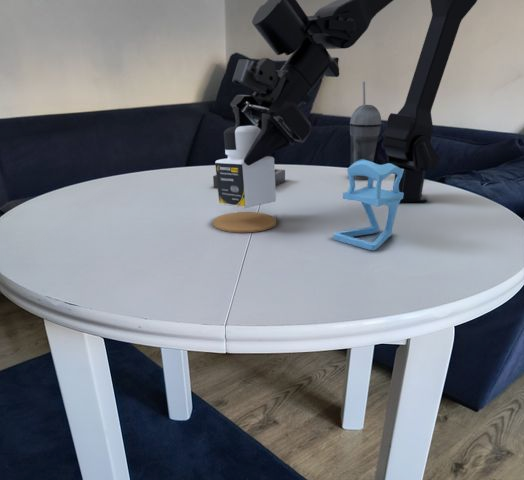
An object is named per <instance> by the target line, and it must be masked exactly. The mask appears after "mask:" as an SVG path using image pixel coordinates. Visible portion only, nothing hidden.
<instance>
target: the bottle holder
mask: <svg viewBox="0 0 524 480" xmlns="http://www.w3.org/2000/svg"><path fill="white" fill-rule="evenodd" d="M212 179H213V182H212V183H213V188H214V189H218V185H217V175H216V174H214V175H213V176H212ZM285 181H286V169H279V168H275V187H277V186H279V185H280V184H282V183H284V182H285Z"/></svg>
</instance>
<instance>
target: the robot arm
mask: <svg viewBox="0 0 524 480" xmlns="http://www.w3.org/2000/svg"><path fill="white" fill-rule="evenodd" d="M393 1H394V0H334V1H332V2H330V3H328V4H326V5H324V6H322V7H321V8H319V9H318V10H317V11H316V12H315V13H314V14H313V15H307V14H306V12H305V11H304V9H303V8H302V6H300V4H299V3H298V0H267V1H266V2H265V3H264V4H262V5H260V6H259V7H258V9H257V10H256V12H255V14H254V15H253V18H252V20H251V24H252V26H253V27H254V28H255V29H256V30H257V32H258V33H259V34H260V35H261V37H262V38H263V39H264V41H265V42H266V43H267V44H268V46H269V47H270V49H271V50H272V51H273V52H274V54H275V55H277V56H281V55H283V54H284V55H285V56H289V57H288V58H287V60H286V61H285V62H284V64H283V65H282V67H281V68H280V69H276V62H275V61H274V60H273V59H270V58H268V57H262V58H261V59H260V60H258V61H256V60H251V59H247V58H246V59H245V58H241V59H238V61H237V63H236V67H235V70H234V73H233V76H232V79H231V82H232V83H233V84H235V85H238V86H239V85H240V86H242V87H244V88H246V89H247V90H250V91H252V92H253V93H252V94H251V95H249V94H236V95H235V96H234V98H233V99H232V100H231V102H230V103H229V105H230V107H231V108H232V112H233V113H234V117H235V124H234V127H235V126H256V127H258V128H260V129H261V131H260V133H259V134H258V136H257V138H256V139H255V141H254V143H253V144H252V146H251V148H250V149H249V151H248V153H247V155H246V157H245V159H244V163H245V164H246V165H248V166H249V165H251V164H253V163H255V162H257V161H259V160H261V159H262V158H264V157H266V156H270V155H272V154H274V153H275V152H278V151H281V150H282V149H284V148H286V147H288V146H293V145H294V144H295V142H298V143H301V144H303V143H305V141H306V140H307V139H308V138H309V136H310V135H311V133H312V123H311V122H310V121H309V119H308V118H307V116H306V115H305V114H304V112H303V111H302V110H301V109H300V106H301V105H308V104H309V102H310V101H311V100H312V98H311V97H310V96H309V94H310V93H311V92H312V90H313V89H314V88H315V86H316V85H317V84H318V83H319V81H320V80H321V78H322V77H323V76H324V77H327V78H328V77H330V78H338V77H340V66H339V62H340V59H339V57H335V56H334V57H333V56H331V54H330V53H329V52H328V50H341V49H342V50H343V49H349V48H351V47H353V46H354V45H355V44H356V43H357V41H358V40H359V39H360V38H361V37H362V36H363V35H364V34H365V33H366V31H367V30H368V29H369V27H370V25H371V22H372V20H374V18H375V17H376V16H377V15H378V13H380V12H381V11H383V10H384V9H385V8H386V7H387V6H388V5H390V4H391V3H392V2H393ZM429 1H430V2H429V3H430V8H431V19H430V22H429V25H428V29H427V31H426V35H425V37H424V41H423V45H422V48H421V50H420V54H419V57H418V60H417V64H416V67H415V70H414V73H413V76H412V79H411V82H410V86H409V89H408V92H407V95H406V98H405V102H404V104H403V106H402V107H401V108H400V109H399V111H398V112H397V113H394V112H393V113H392V112H390V113H389V115H388V117H387V122H386V126H385V129H384V131H383V133H382V135H381V136H382V137H383V141H382V147H383V149H384V151H385V154H386V160H387V163H391V164H393V165H395V166H397V167H399V168H400V169H404V172H403V175H402V177H401V180H400V182H399V192H402V193H404V195H403V199H401V200H400V202H399V203H427V201H428V199H427V197H425V196H424V195H423V190H424V183H425V177H426V172H430V171H431V170H435V169H436V168H437V165H438V162H439V160H440V156H439V154H438V153H437V152H436V150H435V148H434V147H433V145H432V143H431V141H432V137H433V132H434V126H433V119H432V109H433V106H434V104H435V100H436V97H437V94H438V91H439V88H440V85H441V82H442V79H443V76H444V74H445V70H446V67H447V65H448V61H449V58H450V56H451V52H452V49H453V46H454V43H455V41H456V37H457V35H458V32H459V28H460V26H461V23H462V21H463V19H464V18H465V17H466V16H467V14H468V13H470V11H471V10H472V9H473V7H474V6H475V5H476V4H477V2H478V0H429ZM224 155H225V156H226V157H227V158H228V155H226V153H225V152H224ZM396 178H397V174H395V173H394V177H393V183H394V182H395V180H396Z"/></svg>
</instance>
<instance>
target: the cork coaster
mask: <svg viewBox="0 0 524 480" xmlns="http://www.w3.org/2000/svg"><path fill="white" fill-rule="evenodd" d="M212 225H213V227H214V228H215V229H218V230H220V231H223V232H229V233H237V234H238V233H239V234H241V233H242V234H243V233H244V234H247V233H259V232H264V231H266V230H267V231H268V230H270V229H272V228H274V227H275V226H276V225H277V219H276V218H275V217H274V216H273V215H270V214H267V213H262V212H254V211H253V212H252V211H240V212H239V211H238V212H231V213H225V214H222V215H219V216H217V217H215V218H214V219H213V221H212Z"/></svg>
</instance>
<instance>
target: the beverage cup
mask: <svg viewBox="0 0 524 480" xmlns="http://www.w3.org/2000/svg"><path fill="white" fill-rule="evenodd" d="M349 121H350V122H349V123H348V126H349V135H350V166H351V165H352V164H353V163H355V162H357V161H359V160H361V159H365V160H367V161H371V162H373V163H374V161H375V155H376V149H377V144H378V140H379V139H378V138H379V135H380V132H381V127H382V126H383V124H382V116H381V113H380V110H379V109H378V108H377V107H376V106H375V105H373V104H366V81H362V104H361V105H359V106H358V107H357V108H355V110H353V112H352V114H351V117H350V120H349ZM353 178H354V180H356V181H357V180H358V181H366V180H367V181H368V178H369V177H367V176H353Z"/></svg>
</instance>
